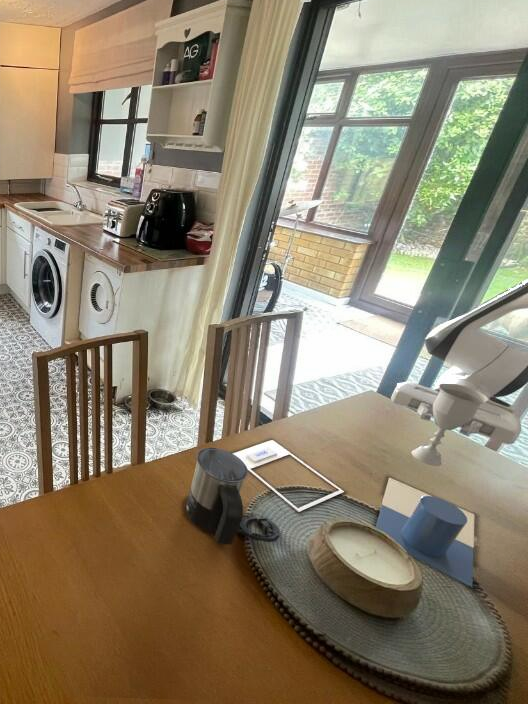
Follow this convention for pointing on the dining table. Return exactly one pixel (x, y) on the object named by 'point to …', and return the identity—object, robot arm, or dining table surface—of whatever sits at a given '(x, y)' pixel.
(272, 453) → the photo frame
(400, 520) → the board
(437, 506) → the short blue cylinder
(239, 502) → the milk frother
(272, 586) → the dining table surface
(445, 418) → the chalice
